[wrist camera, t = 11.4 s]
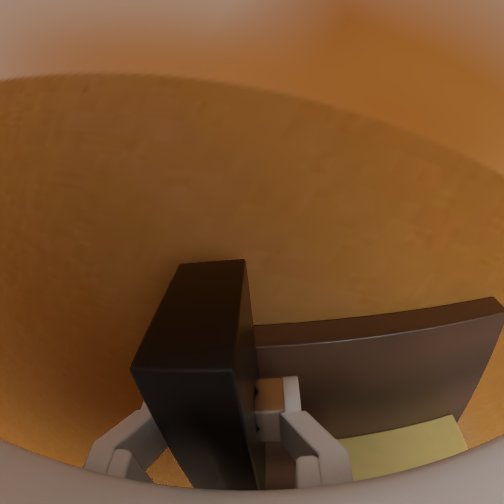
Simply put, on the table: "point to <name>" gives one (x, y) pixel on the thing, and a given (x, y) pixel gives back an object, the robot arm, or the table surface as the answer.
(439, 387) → the board
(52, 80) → the table surface
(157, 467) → the table surface
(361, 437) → the butter stick
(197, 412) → the knife
